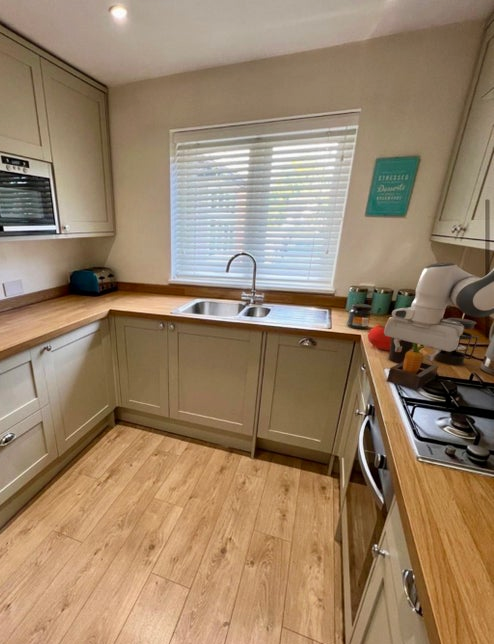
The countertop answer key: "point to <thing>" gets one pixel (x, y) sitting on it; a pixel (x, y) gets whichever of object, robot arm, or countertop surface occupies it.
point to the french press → (454, 356)
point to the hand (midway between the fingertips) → (413, 355)
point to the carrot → (413, 359)
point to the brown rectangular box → (412, 376)
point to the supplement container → (359, 316)
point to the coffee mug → (399, 356)
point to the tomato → (379, 338)
